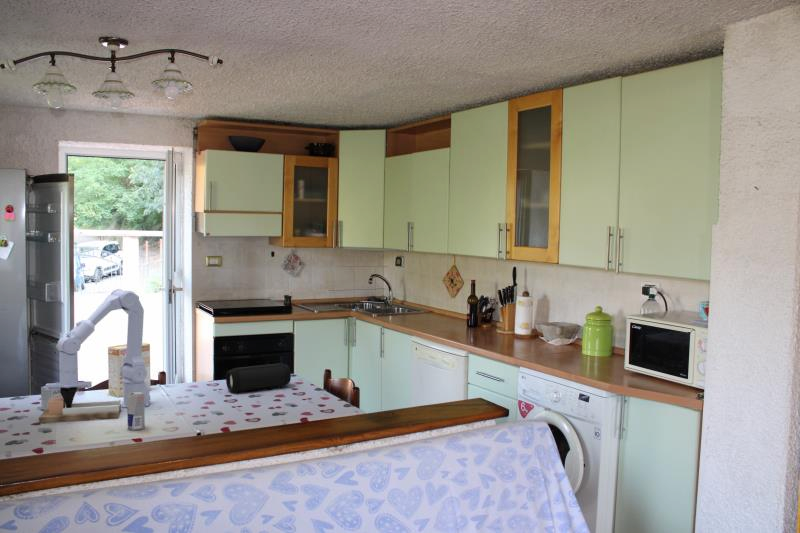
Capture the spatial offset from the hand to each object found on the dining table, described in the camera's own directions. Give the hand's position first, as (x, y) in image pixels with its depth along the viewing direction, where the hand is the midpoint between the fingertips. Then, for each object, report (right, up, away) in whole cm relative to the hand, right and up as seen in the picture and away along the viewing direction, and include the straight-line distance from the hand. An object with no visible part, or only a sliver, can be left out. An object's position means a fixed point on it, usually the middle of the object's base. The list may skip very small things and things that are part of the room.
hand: (69, 408), depth 243 cm
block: (-4, -1, -1) cm, 4 cm away
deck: (+4, -3, +1) cm, 5 cm away
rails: (+7, -1, +2) cm, 8 cm away
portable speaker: (+58, -2, +46) cm, 74 cm away
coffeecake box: (+7, -1, +37) cm, 38 cm away
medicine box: (-12, -2, +12) cm, 17 cm away
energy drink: (+28, -4, -12) cm, 31 cm away
